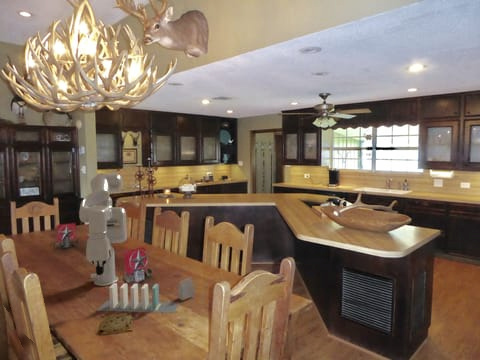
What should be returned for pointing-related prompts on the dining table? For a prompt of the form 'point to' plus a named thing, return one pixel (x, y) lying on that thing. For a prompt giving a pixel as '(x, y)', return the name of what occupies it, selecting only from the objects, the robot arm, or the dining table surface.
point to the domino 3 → (134, 296)
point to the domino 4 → (144, 296)
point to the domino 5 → (155, 296)
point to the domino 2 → (124, 295)
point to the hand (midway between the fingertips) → (100, 274)
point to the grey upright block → (186, 289)
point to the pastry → (116, 323)
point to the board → (162, 307)
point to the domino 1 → (113, 295)
